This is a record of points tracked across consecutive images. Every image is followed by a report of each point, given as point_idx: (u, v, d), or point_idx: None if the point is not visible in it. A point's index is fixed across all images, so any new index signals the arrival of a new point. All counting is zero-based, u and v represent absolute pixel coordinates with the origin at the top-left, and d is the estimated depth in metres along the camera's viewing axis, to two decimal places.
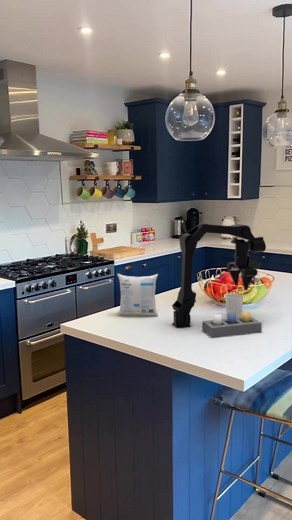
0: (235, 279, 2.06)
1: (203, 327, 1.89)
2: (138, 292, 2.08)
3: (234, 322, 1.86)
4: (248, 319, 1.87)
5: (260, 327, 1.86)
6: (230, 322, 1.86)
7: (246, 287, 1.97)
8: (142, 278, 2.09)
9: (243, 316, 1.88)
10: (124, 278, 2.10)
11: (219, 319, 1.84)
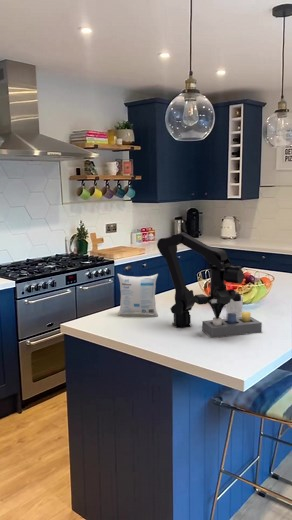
0: None
1: (203, 327, 1.89)
2: (138, 292, 2.08)
3: (234, 322, 1.86)
4: (248, 319, 1.87)
5: (260, 327, 1.86)
6: (230, 322, 1.86)
7: (215, 315, 1.85)
8: (142, 278, 2.09)
9: (243, 316, 1.88)
10: (124, 278, 2.10)
11: (219, 322, 1.84)
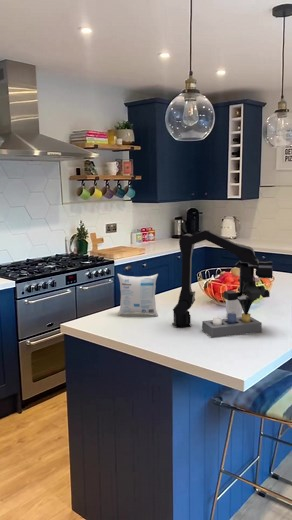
0: None
1: (203, 327, 1.89)
2: (138, 292, 2.08)
3: (234, 322, 1.86)
4: (248, 320, 1.88)
5: (260, 327, 1.86)
6: (230, 322, 1.86)
7: (244, 311, 1.88)
8: (142, 278, 2.09)
9: (243, 317, 1.88)
10: (124, 278, 2.10)
11: (219, 322, 1.84)
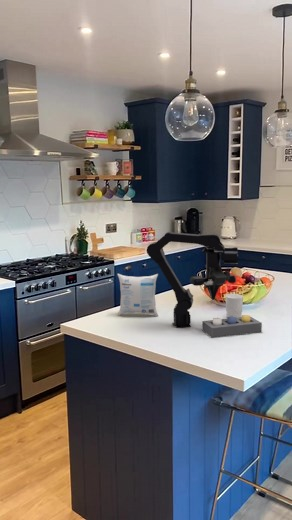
0: (213, 293, 1.92)
1: (203, 327, 1.89)
2: (138, 292, 2.08)
3: None
4: None
5: (260, 327, 1.86)
6: None
7: (211, 296, 1.92)
8: (142, 278, 2.09)
9: (243, 319, 1.88)
10: (124, 278, 2.10)
11: (219, 322, 1.84)
